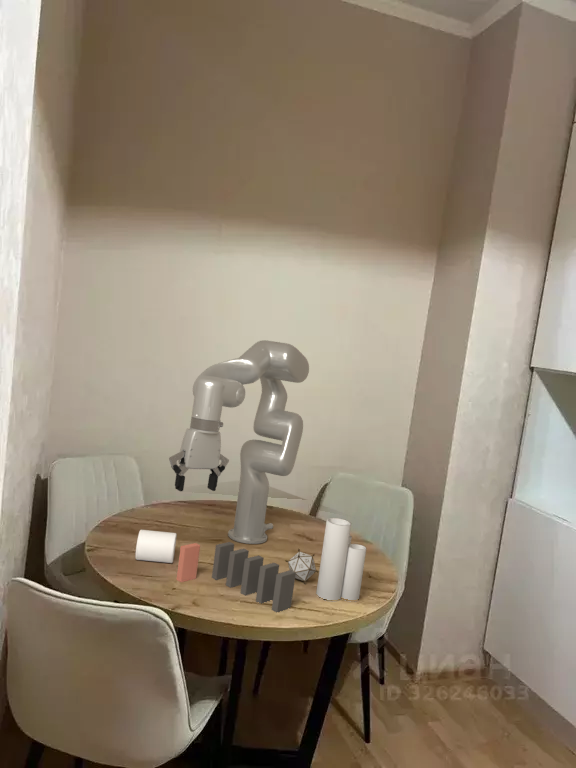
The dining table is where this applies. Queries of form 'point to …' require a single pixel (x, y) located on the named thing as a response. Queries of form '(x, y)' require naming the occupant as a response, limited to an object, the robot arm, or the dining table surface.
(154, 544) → the mug
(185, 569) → the red tile
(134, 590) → the dining table surface
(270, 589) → the black tile
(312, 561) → the game die
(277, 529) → the dining table surface
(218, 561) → the black tile
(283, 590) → the grey domino block
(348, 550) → the vase
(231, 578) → the dark gray domino tile
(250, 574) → the black tile
